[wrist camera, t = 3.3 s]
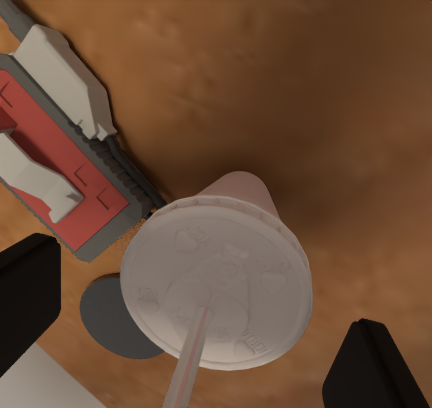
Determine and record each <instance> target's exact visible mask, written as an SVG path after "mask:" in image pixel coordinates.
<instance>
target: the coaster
mask: <svg viewBox="0 0 432 408" xmlns="http://www.w3.org/2000/svg"><path fill="white" fill-rule="evenodd" d="M80 314H81V318H82V321H83V323H84V326H85V327H86V329H87V331H88V332H89V333H90V335H91V336H92V337H93V338H94V339H95V340H96V341H97V342H98V343H99V344H100V345H102V346H103V347H104V348H106V349H108V350H109V351H111V352H113V353H115V354H117V355H120V356H123V357H127V358H132V359H147V358H152V357H155V356H157V355H160V354H161V353H163V352H164V350H163V349H161V348H160V347H159V346H157V345H156V344H155V343H153V342H152V341H151V340H150V339H149V338H148V337H147V336H146V335H145V334H144V333H143V332H142V331H141V330H140V328H139V327H138V325H137V324H136V323H135V321H134V320H133V318H132V317H131V315H130V313H129V311H128V309H127V307H126V304H125V302H124V298H123V295H122V290H121V283H120V274H109V275H105V276H102V277H100V278H98V279H97V280H95V281H94V282H93V283H92V284H91V285H90V286H89V287H88V288H87V289H86V290H85V291H84V293H83V295H82V297H81V301H80Z"/></svg>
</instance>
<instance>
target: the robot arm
mask: <svg viewBox="0 0 432 408" xmlns="http://www.w3.org/2000/svg"><path fill="white" fill-rule="evenodd" d="M60 311H61V246H60V244H59V243H57V240H56V238H55V237H52V236H48V235H45V234H41V233H34V234H32V235H30V236H28V237H26V238H25V239H23V240H21V241H19V242H18V243H16V244H14V245H12V246H11V247H9V248H7V249H5V250H4V251H2V252H0V378H1V377H2V376H3V374H4V373H5V372H6V371H7V370H8V369H9V368H10V367H11V366H12V365H13V364H14V363H15V362H16V361H17V360H18V359H19V358H20V357H21V356H22V355H23V354H24V353H25V352H26V350H27V349H28V348H29V347H30V346H31V345H32V344H33V343H34V342H35V341H36V340H37V339H38V338H39V337H40V336H41V335H42V334H43V333H44V332H45V331H46V330H47V329H48V328H49V326H50V325H51V324H52V323H53V322H54V321H55V320H56V319H57V317H58V316H59V314H60ZM322 396H323V402H324V407H325V408H430V407H429V405H428V403H427V401H426V399H425V398H424V396H423V394H422V392H421V390H420V388H419V387H418V385H417V383H416V381H415V379H414V377H413V376H412V374H411V372H410V370H409V368H408V366H407V365H406V363H405V361H404V359H403V357H402V355H401V354H400V352H399V350H398V348H397V346H396V344H395V343H394V341H393V339H392V337H391V335H390V333H389V332H388V330H387V328H386V326H385V325H384V324H382V323H379V322H375V321H372V320H368V319H364V318H361V319H360V320H359V321H358V322H356V321H355V322H353V323H352V324H351V326H350V328H349V330H348V333H347V335H346V337H345V339H344V341H343V343H342V345H341V347H340V349H339V352H338V354H337V356H336V358H335V360H334V362H333V364H332V366H331V369H330V371H329V373H328V375H327V377H326V379H325V381H324V384H323V388H322Z"/></svg>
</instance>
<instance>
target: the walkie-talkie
mask: <svg viewBox="0 0 432 408" xmlns="http://www.w3.org/2000/svg"><path fill="white" fill-rule="evenodd" d="M0 16H1V17H2V19H3V20H4V21H5V22H6V23H7V24H8V25H9V30H10V31H11V32H12V33H13V34H14V35H15V36H16V37H17V38H18V39H19V41H20V42H21V44H20V46H19V47H18V49H17V50H16V51H13V52H11V53H9V54H8V55H7V54H1V53H0V182H1V183H2V184H3V185H4V186H5V187H6V188H7V189H8V190H9V191H11V192H12V193H13V194H14V195H15V197H16V198H18V199H19V200H20V201H21V203H22V204H24V205H25V206H26V207H27V208H28V210H29V211H31V212H32V213H33V214H34V216H35V217H37V218H38V219H39V220H40V222H41V223H43V224H44V225H45V226H46V227H47V229H48V230H50V231H51V232H52V233H53V235H54V236H56V237H57V238H58V239H59V241H60V242H62V243H63V244H64V245H65V247H66V248H68V249H69V250H70V251H71V253H72V254H74V255H75V256H76V257H77V259H79V260H82V261H85V262H88V263H90V262H91V261H92V260H94V259H95V258H96V257H97V256H98V255H100V254H101V253H102V252H103V251H104V250H106V249H107V248H108V247H109V246H110V245H111V244H113V243H114V242H115V241H116V240H117V239H119V238H120V237H121V236H122V235H123V234H125V233H126V232H127V231H128V230H129V229H130V228H132V227H133V226H134V225H135V224H136V223H138V222H139V221H140V220H141V219H142V218H143V217H144V218H145V219H146V220H148V219H149V218H150V217H151V216H152V215H153V213H152V212H151V210H152V209H153V208H154V207H155V206H156V205H157V206H158V207H159V208H160V209H161V208H163V207H164V206H166V205H168V204H167V202H166V201H165V200H164V199H163V198H162V197H161V195H160V194H159V193H158V191H157V190H156V189H155V188H154V187H153V185H152V184H150V183H149V182H148V180H147V178H146V177H144V176H143V175H142V174H141V172H140V171H139V170H138V169H137V168H136V166H135V165H134V164H132V163H131V161H130V159H129V158H127V157H126V156H125V155H124V153H123V151H122V150H121V149H120V146H119V142H118V140H117V139H116V137H115V136H114V135H115V134H116V133H117V130H116V129H115V128H114V127H113V124H112V119H111V113H110V108H109V102H108V97H107V92H106V90H105V88H104V87H103V86H102V85H101V83H100V82H99V81H98V80H97V79H96V78H95V77H94V75H93V74H92V73H91V72H90V71H89V70H88V68H87V67H86V66H85V65H84V64H83V63H82V61H81V60H80V59H79V58H78V57H77V56H76V55H75V53H74V52H73V51H72V50H71V49H70V48H69V44H68V41H67V40H66V39H65V38H64V37H63V36H62V35H61V33H60V32H59V31H57V30H54V29H51V28H47V27H44V26H41V25H38V24H36V23H35V22H34V21H33V19H32V18H31V17H30V16H28V15H26V14H24V13H23V12H22V11H21V10H20V9H19V7H18V6H17V5H16V4H15V3H14V2H13V1H12V0H0Z"/></svg>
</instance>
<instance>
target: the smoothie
mask: <svg viewBox="0 0 432 408" xmlns="http://www.w3.org/2000/svg"><path fill="white" fill-rule="evenodd" d="M120 283H121V290H122V295H123V298H124V302H125V304H126V307H127V309H128V311H129V313H130V315H131V317H132V318H133V320H134V321H135V323H136V324H137V325H138V327H139V328H140V330H141V331H142V332H143V333H144V334H145V335H146V336H147V337H148V338H149V339H150V340H151V341H152V342H153V343H155V344H156V345H157V346H159V347H160V348H161V349H163V350H164V351H166V352H167V353H169V354H171V355H173V356H175V357H176V358H178V359H179V360H178V362H177V365H176V368H175V371H174V374H173V377H172V380H171V382H170V385H169V388H168V391H167V394H166V397H165V400H164V402H163V405H162V408H188V404H189V400H190V396H191V393H192V389H193V385H194V381H195V378H196V374H197V370H198V366H200V367H205V368H209V369H217V370H242V369H248V368H253V367H257V366H261V365H263V364H266V363H269V362H271V361H273V360H275V359H277V358H278V357H280V356H282V355H283V354H285V353H286V352H287V351H288V350H290V349H291V348H292V347H293V346H294V345H295V344H296V343H297V341H298V340H299V339H300V338H301V336H302V335H303V333H304V332H305V330H306V327H307V325H308V323H309V320H310V317H311V313H312V307H313V291H312V278H311V273H310V268H309V262H308V258H307V256H306V254H305V252H304V251H303V249H302V247H301V245H300V243H299V241H298V239H297V237H296V236H295V235H294V234H293V233H292V232H291V231H290V230H289V229H288V228H287V227H286V226H285V225H284V224H283V223H282V222H281V220H280V218H279V215H278V213H277V211H276V208H275V206H274V204H273V201H272V199H271V196H270V194H269V192H268V189H267V187H266V185H265V184H264V183H263V181H262V180H261V179H260V178H258V177H257V176H255V175H254V174H251V173H249V172H244V171H235V172H231V173H228V174H226V175H224V176H222V177H221V178H220V179H218V180H217V181H215V182H214V183H212V184H211V185H210V186H208V187H207V188H205V189H204V190H202V191H201V192H200V193H198V194H197V195H195V196H192V197H187V198H183V199H178V200H176V201H174V202H172V203H170V204H168V205H166V206H164V207H163V208H161V209H159V210H157V211H156V212H155V213H154V214H153V215H152V216H151V217H150V218H149V219H148V220H147V221H146V222H145V223H144V224H143V225H142V226H141V228H140V230H139V231H138V232H137V233H136V235H135V236H134V237H133V238H132V240H131V241H130V243H129V245H128V247H127V248H126V251H125V253H124V256H123V259H122V263H121V270H120Z"/></svg>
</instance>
